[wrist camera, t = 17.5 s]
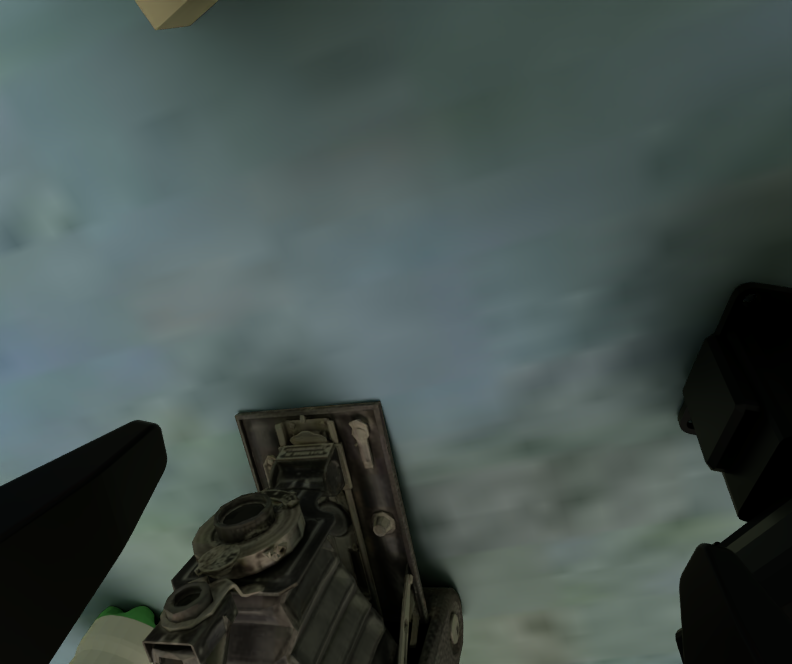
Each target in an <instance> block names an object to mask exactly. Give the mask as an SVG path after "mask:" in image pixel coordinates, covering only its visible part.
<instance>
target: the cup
mask: <svg viewBox="0 0 792 664" xmlns="http://www.w3.org/2000/svg"><path fill="white" fill-rule="evenodd" d="M155 626H156V625H155V623H154V614H153V612H152V611H151V610H150V609H149V608H148V607H146V606H139V607H136V608H133V609H131V610H130V611H128V612H126V613H124V612H123V611H122V610H121V609H119V608H117V607H113V606H109V607H108V608H106V609H105V610H104V611H103V612H102V613H101V614H100V615H99V616H98V618H97V619H96V620H95V622H94V623H93V624H92V626H91V627H90V629H89V630H88V631H87V633H86V634H85V636H84V637H83V639H82V640H81V642H80V644H79V646H78V648H77V651H76V654H75V656H74V658H73V659H72V660H71V662H70V663H69V664H153V663H150V662H149V659H148V657H147V654H146V652H145V649H144V647H143V644H142V642H143V640H144V639H145V638H146V637H147V636H148V635H149V633H150V632H151V631H152V630H153V629H154V628H155Z"/></svg>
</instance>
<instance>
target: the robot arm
mask: <svg viewBox="0 0 792 664" xmlns="http://www.w3.org/2000/svg"><path fill="white" fill-rule="evenodd" d="M750 294H756V298H755V299H754V300H752V301H750V302H744V301H743V300H744V298H745V297H746V296H748V295H750ZM683 396H684V399H685V401H684V403H683V406H682V408H681V410H680V412H679V415H678V422H679V425H680V428H681V429H682V430H683V431H684V432H686V433H689V434H693V435H697V438H698V441H699V444H700V447H701V450H702V453H703V456H704V459H705V462H706V464H707V465H708V466H709V468H710V469H711V470H713V471H718V472H722V474H723V477H724V479H725V482H726V485H727V488H728V491H729V493H730V496H731V499H732V502H733V505H734V507H735V510H736V513H737V516H738V517H739V519H740V520H743V521H745V522H747V523H746V524H745V525H743V526H742V527H741V528H739V529H738V530H737V531H735V532H734V533H733V534H731V535H730V536H729V537H728V538H726V539H725V540H724V541H722V542H721V543H720V542H715V543H714V544H707V543H702V544H700V545H698V547H697V548H696V549H695V551H694V553H693V555H692V557H691V558H690V560H689V562H688V564H687V566H686V567H685V569H684V571H683V573H682V575H681V578H680V584H679V593H680V608H681V623H682V628H681V629H679V630H678V631H677V632H676V634H675V635H676V642H677V646H678V649H679V652H680V655H681V659H682V662H683V664H792V288H788V287H781V286H775V285H768V284H761V283H755V282H748V283H745V284H741V285H740V286H738V287H737V288H736V289H735V290H734V292H733V293H732V295H731V298H730V300H729V302H728V304H727V307H726V309H725V311H724V313H723V316H722V318H721V320H720V322H719V325H718V327H717V329H716V331H715V334H712V335H710V336H709V337H707V338H706V339H705V340H704V342H703V345H702V347H701V349H700V351H699V354H698V356H697V358H696V361H695V363H694V365H693V367H692V370H691V372H690V374H689V377H688V379H687V381H686V384H685V386H684V388H683ZM689 420H692V423H689V422H688V421H689ZM166 464H167V454H166V449H165V444H164V440H163V435H162V431H161V428H160V427H159V425H158V424H156V423H151V422H147V421H142V420H135V421H132V422H130V423H128V424H126V425H123V426H121V427H119V428H117V429H115V430H113V431H111V432H109V433H107V434H105V435H103V436H101V437H99V438H97V439H95V440H93V441H91V442H89V443H87V444H85V445H83V446H81V447H79V448H77V449H75V450H73V451H71V452H69V453H67V454H65V455H63V456H61V457H59V458H57V459H55V460H53V461H51V462H48V463H46V464H44V465H42V466H40V467H38V468H36V469H34V470H32V471H30V472H28V473H26V474H24V475H22V476H20V477H18V478H16V479H14V480H12V481H10V482H8V483H6V484H4V485H2V486H0V664H49V663H50V661H51V660H52V658H53V657H54V655H55V654H56V652H57V650H58V649H59V647H60V646H61V644H62V643H63V641H64V640H65V638H66V637H67V635H68V634H69V632H70V631H71V629H72V627H73V626H74V624H75V623H76V621H77V620H78V618H79V617H80V615H81V614H82V612H83V611H84V609H85V608H86V606H87V604H88V603H89V601H90V600H91V598H92V597H93V595H94V594H95V592H96V591H97V589H98V588H99V586H100V585H101V583H102V581H103V580H104V578H105V577H106V575H107V574H108V572H109V571H110V569H111V568H112V566H113V565H114V563H115V562H116V560H117V558H118V557H119V555H120V554H121V552H122V550H123V549H124V547H125V545H126V543H127V542H128V540H129V538H130V536H131V534H132V533H133V531H134V529H135V527H136V525H137V523H138V521H139V519H140V517H141V515H142V513H143V511H144V509H145V507H146V505H147V503H148V502H149V500H150V498H151V496H152V494H153V492H154V490H155V488H156V486H157V484H158V482H159V480H160V478H161V476H162V474H163V473H164V470H165V468H166Z"/></svg>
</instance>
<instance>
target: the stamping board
mask: <svg viewBox="0 0 792 664" xmlns="http://www.w3.org/2000/svg"><path fill="white" fill-rule="evenodd" d="M135 1H136V3H137V4H138V6H139V7H140V9H141V10H142V12H143V13H144V14H145V16H146V17H147V19H148V20H149V22H150V23H151V25H152V26H153V27H154V29H155V30H161V29H169V28H177V27H185V26H190V25H191V24H193V23H194V22H195V21H196V20H197V19H198V18H199V17H200V16H201V15H203V14H204V13H205V12H206V11H207V10H208V9H209V8H210V7H212V6H213V5H214V4H215V3H216V2H217V1H218V0H135Z"/></svg>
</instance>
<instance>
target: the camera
mask: <svg viewBox="0 0 792 664" xmlns="http://www.w3.org/2000/svg"><path fill="white" fill-rule="evenodd" d="M235 418H236V422H237V425H238V428H239V431H240V435H241V438H242V441H243V445H244V448H245V451H246V454H247V458H248V461H249V464H250V467H251V471H252V474H253V477H254V481H255V484H256V487H257V490H258V492H255V493H249V494H246V495H241V496H240V497H238V498H236V499H234V500H232V501H230V502H228V503H226V504H225V505H223V506H221V507H220V509H219V510H218V511H217V512H216V513H215V514H214V515H213V516H212V517H211V518H210V519H209V520H208V521H207V522H205V523H204V524H203V525H202V526H201V527H200V528H199V530H198V532H197V534H196V536H195V537H194V539H193V541H192V545H193V551H194V555H193V556H192V558H191V559H190V560H189V561H188V562H187V563H186V564H185V565H184V567H183V568H182V569H181V570H180V571H179V572H178V573H177V574H176V576H175V577H174V578H173V579H172V580H171V582H172V586H173V589H174V592H173V593H172V594H171V595H170V596H169V597H168V598H167V600H166V603H165V606H164V610H163V612H162V614H161V615H160V619H161V621H160V622H159V623H158V624H157V625H156V626H155V628H154V629H153V630H152V631H151V632H150V633H149V635H148V636H147V637H146V638H145V639H144V640H143V642H142V644H143V647H144V649H145V652H146V654H147V657H148V659H149V662H150V663H153V664H459V660H460V655H461V651H462V646H463V616H462V608H461V601H460V598H459V596H458V593H457V592H456V591H455V590H454V589H453V588H438V587H422V585H421V580H420V576H419V571H418V567H417V563H416V558H415V554H414V549H413V545H412V540H411V536H410V532H409V527H408V523H407V518H406V514H405V509H404V505H403V501H402V496H401V492H400V487H399V483H398V478H397V474H396V470H395V465H394V461H393V456H392V452H391V448H390V443H389V439H388V434H387V430H386V425H385V421H384V417H383V412H382V408H381V403H380V401H379V402H367V403H354V404H342V405H330V406H317V407H305V408H293V409H281V410H269V411H257V412H245V413H238V414H237V415H235Z"/></svg>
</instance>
